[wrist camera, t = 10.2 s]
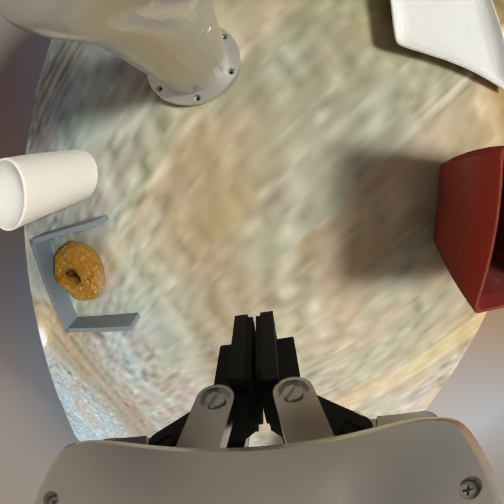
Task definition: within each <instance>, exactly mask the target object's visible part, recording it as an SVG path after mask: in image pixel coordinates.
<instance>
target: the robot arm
mask: <svg viewBox="0 0 504 504" xmlns="http://www.w3.org/2000/svg"><path fill="white" fill-rule="evenodd" d="M0 14H1V16H2V17H3V18H4V19H5V20H6V21H8V22H9V23H10V24H12V25H14V26H15V27H17V28H19V29H21V30H23V31H25V32H28V33H31V34H34V35H38V36H42V37H47V38H53V39H60V40H69V41H78V42H84V43H89V44H92V45H95V46H98V47H100V48H102V49H104V50H106V51H108V52H110V53H112V54H114V55H115V56H117V57H119V58H120V59H122V60H124V61H125V62H127V63H129V64H130V65H132V66H134V67H135V68H137V69H139V70H140V71H142V72H143V73H145V74H147V78H148V82H149V84H150V86H151V88H152V89H153V90H154V92H155V93H156V94H157V95H158V96H160V97H161V98H162V99H164V100H166V101H168V102H170V103H173V104H176V105H182V106H194V105H200V104H204V103H206V102H209V101H211V100H213V99H215V98H217V97H219V96H220V95H221V94H222V93H224V92H225V91H226V90H227V89H228V88H229V87H230V86H231V85H232V83H233V81H234V80H235V78H236V77H237V74H238V71H239V68H240V52H239V48H238V45H237V43H236V41H235V40H234V38H233V37H232V36H231V35H230V34H229V33H228V32H227V31H225V30H224V29H222V28H220V27H219V25H218V22H217V19H216V16H215V13H214V10H213V7H212V4H211V1H210V0H0ZM224 38H227V39H224ZM230 72H233V74H229V73H230ZM161 88H162V90H161V91H160V89H161ZM198 97H200V100H199V101H197V98H198ZM263 409H264V413H265V417H266V422H267V424H268V423H270V427H271V430H272V431H273V432H275V433H276V434H278V435H280V436H281V438H282V442H283V444H280V445H270V446H258V447H248V446H249V437H250V436H251V435H252V434H253V433H254V432H256V431H259V424H263ZM34 504H504V497H503V495H502V492H501V489H500V487H499V484H498V482H497V480H496V477H495V475H494V473H493V470H492V468H491V466H490V463H489V461H488V460H487V458H486V456H485V454H484V452H483V450H482V448H481V446H480V445H479V443H478V442H477V440H476V438H475V437H474V436H473V434H472V433H471V432H470V431H469V429H468V428H467V427H466V426H465V425H464V424H463V423H461V422H459V421H458V420H455V419H452V418H446V417H438V416H436V415H435V414H434V413H432V412H429V411H420V412H413V413H405V414H397V415H387V416H377V419H368V418H367V417H365V416H363V415H361V414H358V413H356V412H354V411H351V410H349V409H347V408H344V407H342V406H340V405H337V404H335V403H333V402H331V401H329V400H326V399H324V398H322V397H320V396H318V395H316V392H315V390H314V388H313V385H312V384H311V383H310V381H308V380H307V379H305V378H301V377H300V373H299V367H298V361H297V355H296V349H295V344H294V338H293V337H288V338H282V339H277V336H276V330H275V323H274V317H273V311H269V312H262V313H260V316H256V331H255V326H254V321H253V317H248V315H239V316H235V320H234V328H233V336H232V344H231V345H223V346H221V347H220V352H219V358H218V364H217V370H216V376H215V381H214V385H212V386H208V387H206V388H204V389H203V390H202V391H200V392H199V394H198V395H197V397H196V399H195V402H194V404H193V407H192V409H191V411H190V412H189V413H187V414H186V415H184V416H183V417H181V418H180V419H178V420H176V421H175V422H173V423H172V424H170V425H168V426H167V427H165V428H164V429H162V430H160V431H159V432H157V433H156V434H154V435H153V436H152V437H151V438H148V437H147V436H140V437H128V438H110V439H104V440H88V441H81V442H76V443H72V444H69V445H68V446H66V447H64V448H63V449H62V450H61V451H60V452H59V453H58V455H57V456H56V458H55V460H54V461H53V463H52V464H51V466H50V468H49V470H48V472H47V474H46V476H45V478H44V480H43V482H42V485H41V487H40V489H39V492H38V494H37V497H36V499H35V502H34Z"/></svg>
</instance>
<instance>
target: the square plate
mask: <svg viewBox="0 0 504 504" xmlns="http://www.w3.org/2000/svg"><path fill="white" fill-rule="evenodd" d="M390 5H391V13H392V23H393V31H394V37H395V40H396V42H397V44H398V45H400V46H402V47H405V48H408V49H411V50H414V51H417V52H421V53H424V54H427V55H431V56H434V57H437V58H440V59H443V60H445V61H448V62H451V63H453V64H456V65H458V66H461V67H463V68H465V69H467V70H470V71H472V72H474V73H476V74H478V75H479V76H481V77H483V78H485V79H487V80H488V81H490V82H492V83H493V84H495V85H496V86H498V87H500V88H501V89H503V90H504V38H503V34H502V30H501V26H500V23H499V19H498V16H497V13H496V10H495V7H494V5H493V2H492V0H390Z"/></svg>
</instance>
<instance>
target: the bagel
mask: <svg viewBox="0 0 504 504" xmlns="http://www.w3.org/2000/svg"><path fill="white" fill-rule="evenodd" d="M55 279H56V281H57V282H58V284H59V285H60V286H61V287H64V289H65V290H66V291H67V292H69V293H70V294H71V295H72V297H74V298H75V299H78V300H83V301H85V300H92V299H95V298H97V297H99V295H100V294H101V293H102V290H103V286H104V282H105V276H104V267H103V264H102V262H101V260H100V258H99V256H98V255H97V254H96V252H95V251H94V250H93V249H92V248H91V247H89V246H87V245H85V244H82V243H77V242H73V241H70V242H68V243H66V244H65V245H64V246H63V247H62V248H61V249H60V250H59V251H58V252H57V253H56V255H55Z"/></svg>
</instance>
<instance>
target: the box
mask: <svg viewBox="0 0 504 504" xmlns="http://www.w3.org/2000/svg"><path fill="white" fill-rule="evenodd" d="M106 221H108V217H107V215H105V216H101V217H97V218H94V219H90V220H86V221H83V222H79V223H76V224H72V225H69V226H65V227H62V228H58V229H55V230H52V231H49V232H45V233H43V234H41V235H39V236H37V237H35V238H33V239H31V240H30V242H31V246H32V249H33V252H34V255H35V258H36V261H37V264H38V267H39V269H40V272H41V275H42V278H43V280H44V283H45V285H46V288H47V290H48V293H49V295H50V298H51V300H52V302H53V305H54V307H55V309H56V311H57V314H58V316H59V318H60V320H61V322H62V324H63V326H64V329H65V331H66V332H107V331H130V330H132V329H133V327H134V326H135V324H136V323H137V321H138V319H139V318H140V316H139V313H132V314H119V315H105V316H90V317H77V314H76V312H75V310H74V308H73V305H72V303H71V301H70V298H69V296H68V293H67V291H66V290H65V289H64V287H61V286H60V285H59V284H58V282H57V281H56V279H55V258H54V255H53V252H52V249H51V246H50V243H49V239H53V238H56V237H60V236H64V235H67V234H71V233H75V232H79V231H82V230H86V229H90V228H94V227H97V226H98V225H100V224H102V223H104V222H106Z"/></svg>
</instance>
